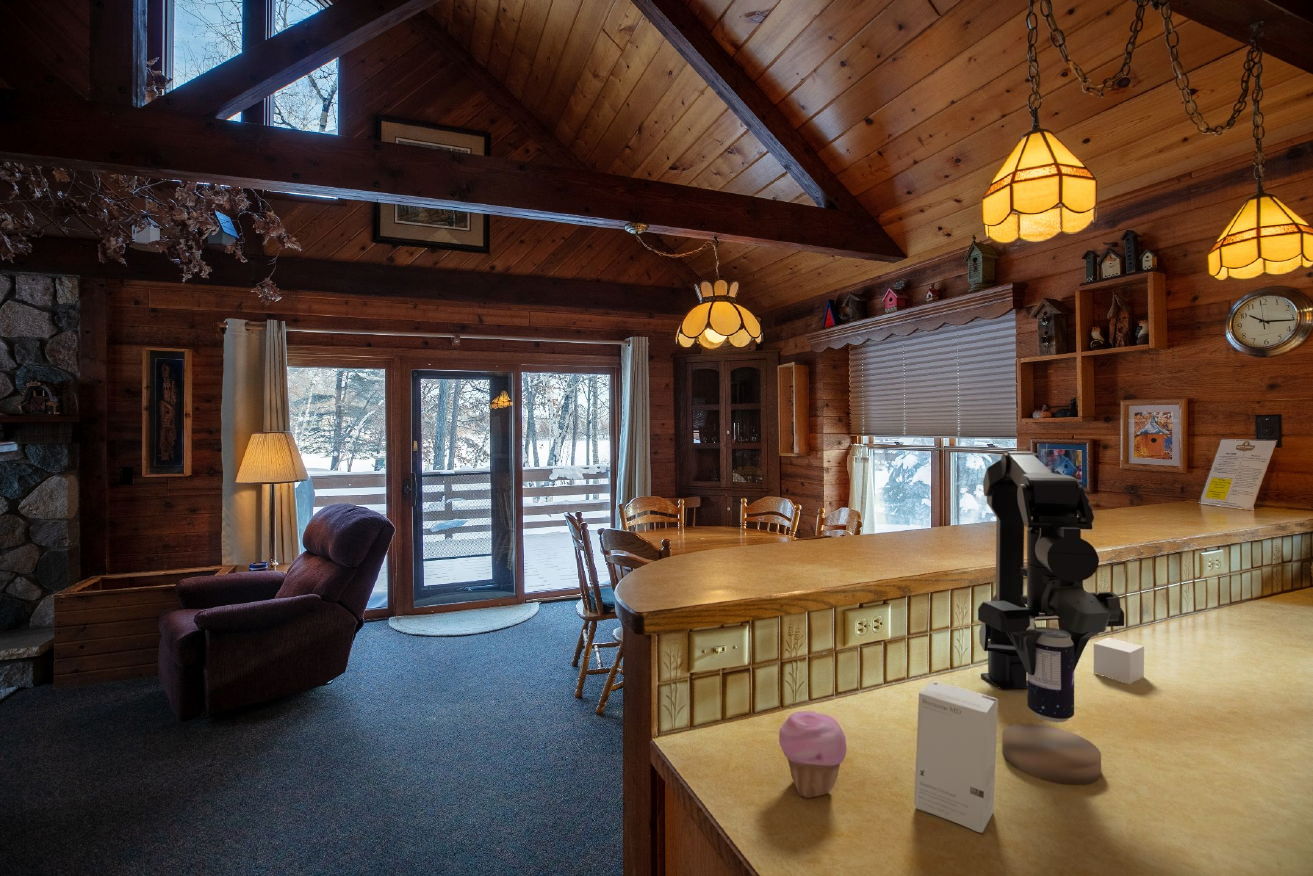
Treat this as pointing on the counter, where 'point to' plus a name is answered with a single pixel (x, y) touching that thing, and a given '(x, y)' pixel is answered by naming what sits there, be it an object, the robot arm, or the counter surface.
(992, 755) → the skincare box
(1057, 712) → the beverage can
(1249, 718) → the counter surface
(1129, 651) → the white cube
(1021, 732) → the walnut base
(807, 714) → the cupcake
